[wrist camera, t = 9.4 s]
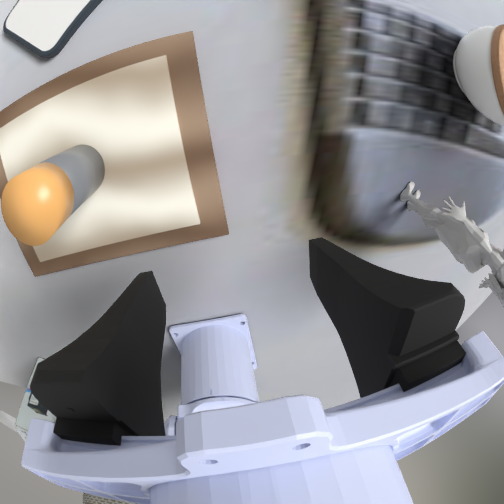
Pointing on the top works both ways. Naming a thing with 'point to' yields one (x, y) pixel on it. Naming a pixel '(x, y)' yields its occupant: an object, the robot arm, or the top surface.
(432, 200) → the top surface
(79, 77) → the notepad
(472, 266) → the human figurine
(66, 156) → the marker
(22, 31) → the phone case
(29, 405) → the ink box
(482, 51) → the lidded jar
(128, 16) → the top surface
